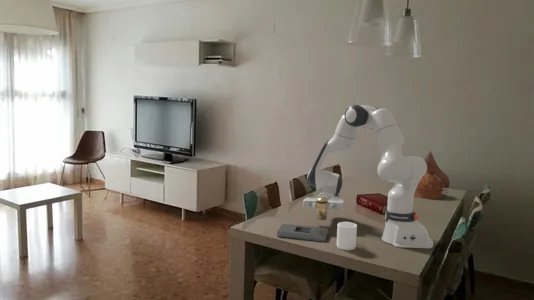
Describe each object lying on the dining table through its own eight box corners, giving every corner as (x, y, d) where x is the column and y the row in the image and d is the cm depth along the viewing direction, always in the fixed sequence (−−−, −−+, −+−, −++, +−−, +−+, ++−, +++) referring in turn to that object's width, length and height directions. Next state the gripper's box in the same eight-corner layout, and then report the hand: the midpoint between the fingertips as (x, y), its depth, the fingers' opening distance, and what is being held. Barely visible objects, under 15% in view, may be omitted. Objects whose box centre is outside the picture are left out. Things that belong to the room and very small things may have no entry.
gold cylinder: (327, 217, 214) (328, 197, 212) (326, 220, 208) (327, 200, 207) (316, 216, 215) (317, 196, 214) (315, 219, 210) (315, 199, 208)
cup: (334, 248, 188) (335, 226, 187) (340, 240, 199) (341, 218, 198) (353, 251, 185) (354, 228, 184) (359, 242, 196) (360, 221, 195)
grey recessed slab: (327, 233, 208) (327, 228, 208) (324, 241, 197) (325, 236, 196) (282, 228, 213) (282, 223, 213) (277, 236, 202) (277, 231, 202)
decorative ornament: (404, 196, 286) (408, 150, 281) (409, 190, 302) (412, 147, 298) (447, 201, 274) (451, 154, 270) (449, 195, 291) (452, 150, 287)
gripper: (305, 193, 226) (300, 199, 212) (345, 196, 221) (343, 202, 207) (304, 205, 226) (300, 212, 213) (344, 208, 221) (342, 215, 208)
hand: (321, 207), depth 210 cm, fingers closed on gold cylinder, 5 cm apart
